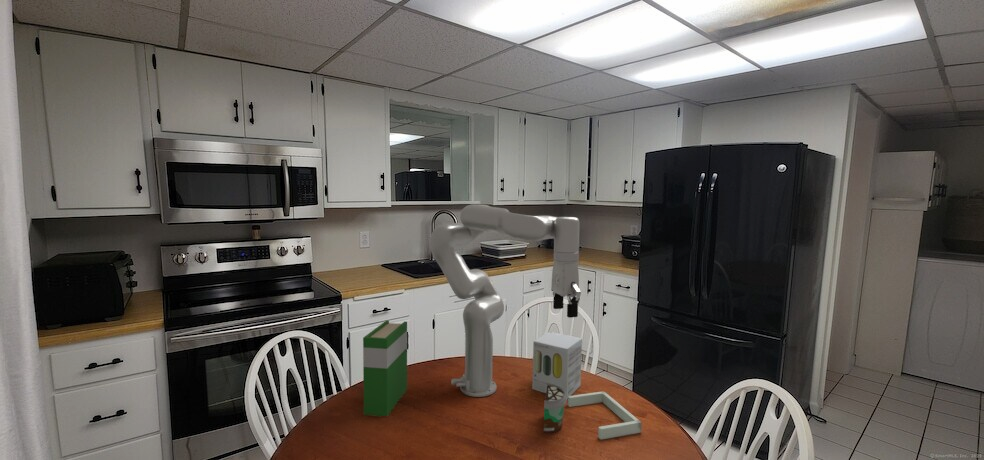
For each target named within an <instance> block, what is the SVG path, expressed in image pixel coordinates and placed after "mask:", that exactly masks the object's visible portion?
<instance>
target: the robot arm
mask: <svg viewBox="0 0 984 460" xmlns="http://www.w3.org/2000/svg"><path fill="white" fill-rule="evenodd" d="M459 219H460V222H453V223H452V222H449V223H448V222H447V223H444V224H440V225H438V226H437V227H435V228H434V229H433V231H432V233H431V234H430V237H429V249H430V252H431V254H432V257H433V258H434V260H435V261H436V263H437V265H438V266H439V268H440V269H441V271H442V273H443V274H444V275H443V276H445V278H446V280H447V282H448V284H449V286H450V288H451V290H452V292H453V293H454V295H455V296H456V297H457V298H458V299H460V300H468V299H471V298H474V299H473V300H471V301H470V302H469V303H468V302H467V305H466V306H465V307H464V309H463V312H462V319H463V325H464V333H465V335H464V337H465V340H464V345H465V346H464V349H465V350H464V351H465V353H464V356H465V358H464V359H465V360H464V373H463V374H462V377H461V376H460V378H452V379H451V380H450V381H451V386H456V388H460V391H461V392H462V393H463V394H464V395H466V396H470V397H474V398H475V397H477V398H481V397H483V398H484V397H488V396H490V395H493V394H495V392H497V383H496V382H495V381H494V380H493V362H494V361H493V360H494V359H493V356H494V355H493V354H494V353H493V351H494V349H493V348H494V345H493V344H494V338H493V332H492V328H491V324H493V323H494V322H495V321H497V320H500V318H501V317H502V316H503V315H504V311H505V306H504V304H505V303H504V301H503V299H502V297H501V296H500V293H499V292H498V290H497V288H496V287H495V285H494V283H493V282H492V281H493V280H491V278H490V277H489V275H488V274H487V272H485V271H484V270H481V269H478V268H473V269H470V268H469V267H468V265H467V264H466V261H465V260H464V258H463V256H462V255H461V254H459V252H458V251H456V249H455V247H460V246H461V247H462V246H467V245H468V244H470V243H472V242H473V241H474V240H476V239H478V237H479V236H481V235H482V234H483V233H484V232H487V233H493V234H499V235H501V236H507V237H510V238H514V239H518V240H525V241H529V242H530V241H532V242H540V241H543V240H544V241H546V240H549V239H551V240H552V239H553V265H552V271H551V285H550V286H551V290H552V292H553V293H552V295H553V309H554V310H561V309H564V297H565V298H567V302H568V303H567V306H566V310H567V311H566V317H567V318H577V317H578V314H579V312H578V311H579V304H580V297H581V294H582V291H581V290H580V278H579V277H580V276H579V263H580V262H579V261H580V260H579V259H580V228H581V227H580V220H579V217H575V216H553V215H528V214H522V213H521V214H520V213H514V212H510V211H509V209H507V208H505V207H504V208H502V207H495V206H490V205H488V204H478V203H477V204H473V203H472V204H469V205H465V207H463V208H462V209H461V211H460V213H459Z"/></svg>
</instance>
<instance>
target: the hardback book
mask: <svg viewBox="0 0 984 460" xmlns="http://www.w3.org/2000/svg"><path fill="white" fill-rule="evenodd" d="M362 339H363V340H362V342H363V343H362V345H363V346H362V349H363V350H362V351H363V355H362V356H363V357H362V359H363V363H362V365H363V369H362V371H363V372H362V373H363V378H362V379H363V415H364V414H365V415H364V416H369V415H376V416H375V417H381V416H388V417H389V415H390V414H391V412H392V411H393V410H394V408H395V407H396V406H397V405H398V403H399V402H398V401H400V400H401V399H402V397H403V396H404V395H405V393H406V392H407V391H408V321H403V322H402V323H393V322H390V321H389V320H385V321H384V322H382V323H381V324H379V325H378V326H377V327H375V328H374V329H372V331H370V332H369V333H368V334H366V335H365V336H364V337H363V338H362ZM406 390H407V391H406ZM405 391H406V392H405ZM403 394H404V395H403ZM402 395H403V396H402ZM401 396H402V397H401ZM400 398H401V399H400ZM399 399H400V400H399ZM397 402H398V403H397ZM395 405H396V406H395ZM394 406H395V407H394ZM393 407H394V408H393ZM392 409H393V410H392ZM391 410H392V411H391ZM389 413H390V414H389ZM388 414H389V415H388Z"/></svg>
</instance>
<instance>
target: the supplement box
mask: <svg viewBox="0 0 984 460" xmlns="http://www.w3.org/2000/svg"><path fill="white" fill-rule="evenodd" d="M532 345H533V346H532V347H533V349H532V350H533V351H532V353H533V354H532V390H534V391H538V392H539V393H544V394H546V392H547V383H551V384H555V385H557V386H559V387H561V388H562V389H563V390H564V391H565V394H566V398H567V400H568V396H573V394H574V393H575V392H576V391H577V390H578V388H580V387H581V385H582V383H581V381H582V380H581V378H582V348H583V347H582V346H583V338H582V337H577V336H573V335H572V336H571V335H568V334H563V333H558V332H553V331H548V332H546V333H544V334H542V335H541V336H540V337H538V338H536V339H534V340H533V344H532Z"/></svg>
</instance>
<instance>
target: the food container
mask: <svg viewBox="0 0 984 460" xmlns="http://www.w3.org/2000/svg"><path fill="white" fill-rule="evenodd" d="M543 401H544V402H543V403H544V404H543V405H544V406H543V434H547V435H548V434H555V433H558V432H559V431H561V430H562V427H563V419H564V409H565V405H566V404H567V403H568V399H567V398H566V394H565V391H564V390H563V389H562V388H561V387H559V386H557V385H555V384H551V383H547V392H546V393H545V400H543Z"/></svg>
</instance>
